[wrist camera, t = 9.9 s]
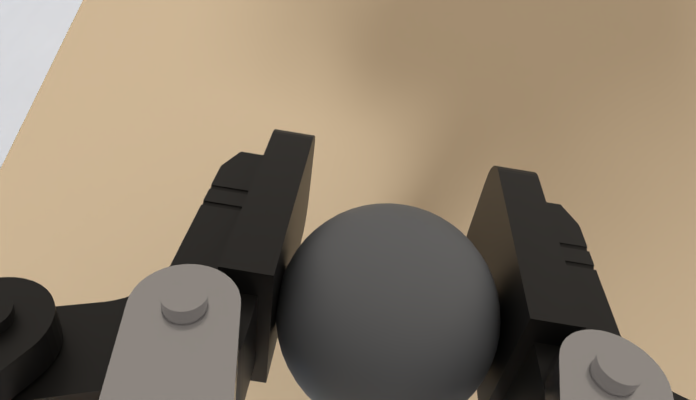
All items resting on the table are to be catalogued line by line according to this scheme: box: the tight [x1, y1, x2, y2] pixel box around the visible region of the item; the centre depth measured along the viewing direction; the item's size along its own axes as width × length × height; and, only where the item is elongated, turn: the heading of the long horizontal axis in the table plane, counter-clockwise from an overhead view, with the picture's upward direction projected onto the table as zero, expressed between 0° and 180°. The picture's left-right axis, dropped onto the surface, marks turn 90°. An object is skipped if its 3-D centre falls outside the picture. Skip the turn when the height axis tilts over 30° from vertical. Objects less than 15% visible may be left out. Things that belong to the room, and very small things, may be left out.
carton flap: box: [0, 0, 696, 400], centre depth 12 cm, size 18×14×6 cm
